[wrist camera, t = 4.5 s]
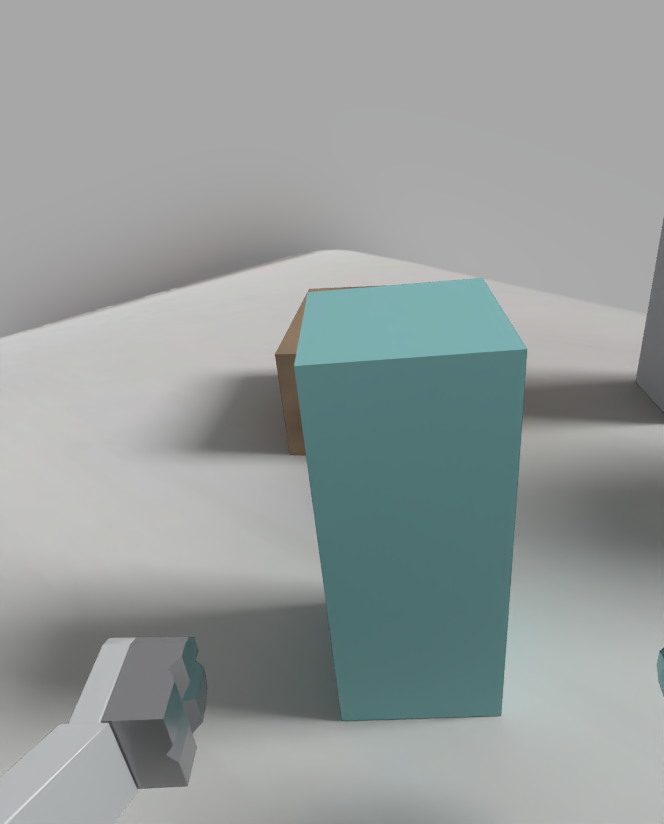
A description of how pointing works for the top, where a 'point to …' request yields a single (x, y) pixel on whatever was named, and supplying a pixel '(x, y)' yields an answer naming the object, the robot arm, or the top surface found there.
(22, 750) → the top surface
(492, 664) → the teal block
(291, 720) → the top surface
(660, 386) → the grey block
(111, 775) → the robot arm
